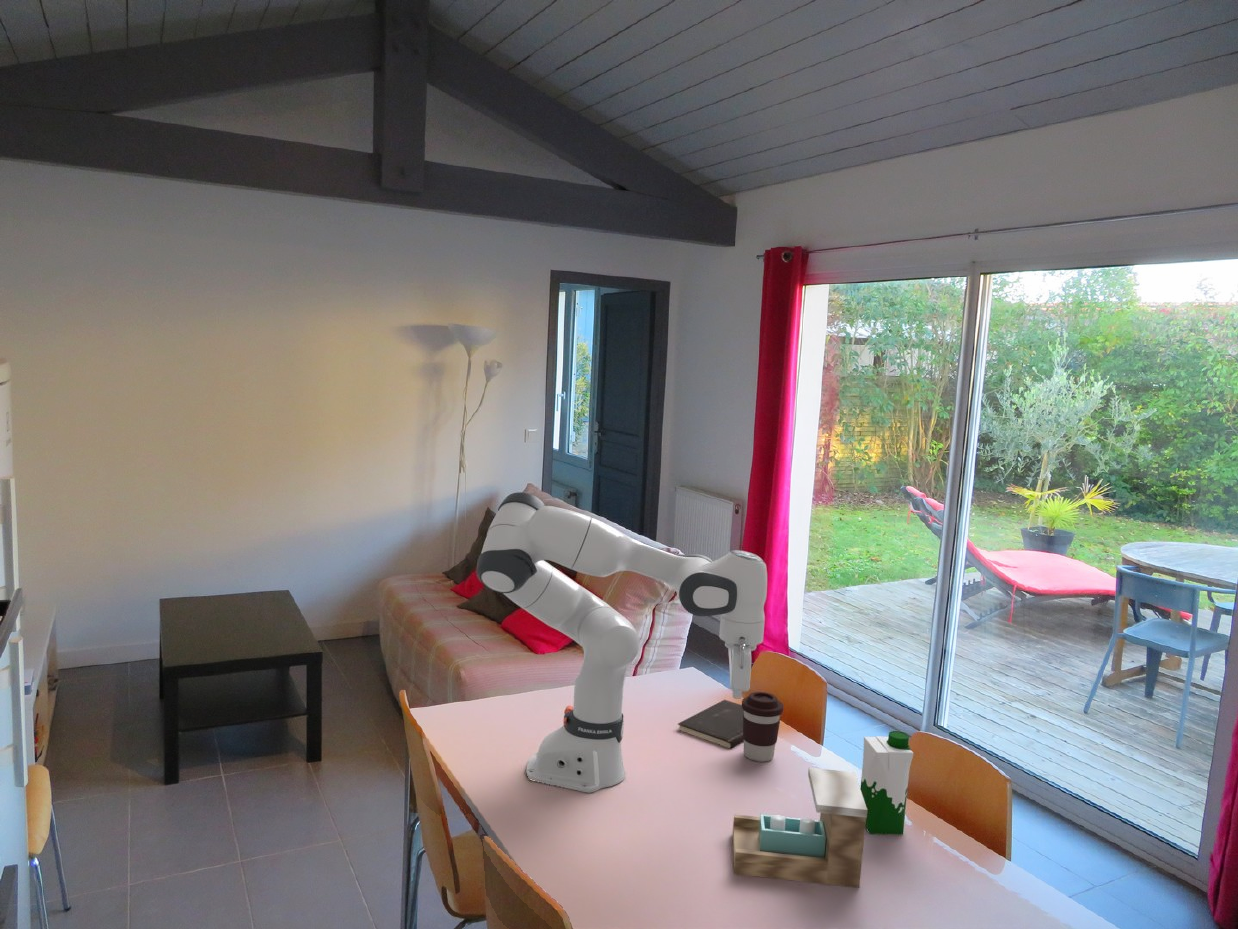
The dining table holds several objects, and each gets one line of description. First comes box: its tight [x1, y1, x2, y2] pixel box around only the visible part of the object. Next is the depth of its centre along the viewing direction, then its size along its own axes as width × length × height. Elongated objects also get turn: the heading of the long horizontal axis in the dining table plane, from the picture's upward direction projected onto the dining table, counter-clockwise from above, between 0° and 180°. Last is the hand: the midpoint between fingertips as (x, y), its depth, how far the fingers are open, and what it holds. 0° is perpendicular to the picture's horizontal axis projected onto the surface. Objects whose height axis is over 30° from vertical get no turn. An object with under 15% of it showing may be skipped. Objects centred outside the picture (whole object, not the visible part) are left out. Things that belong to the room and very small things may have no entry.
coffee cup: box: [741, 691, 784, 763], centre depth 217 cm, size 10×10×15 cm
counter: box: [732, 767, 867, 889], centre depth 172 cm, size 23×15×16 cm, turn 84°
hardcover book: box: [677, 699, 744, 750], centre depth 235 cm, size 16×23×2 cm
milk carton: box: [860, 730, 914, 835], centre depth 187 cm, size 9×9×20 cm
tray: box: [759, 814, 826, 858], centre depth 173 cm, size 12×6×6 cm, turn 84°
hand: (736, 696), depth 183 cm, fingers closed
